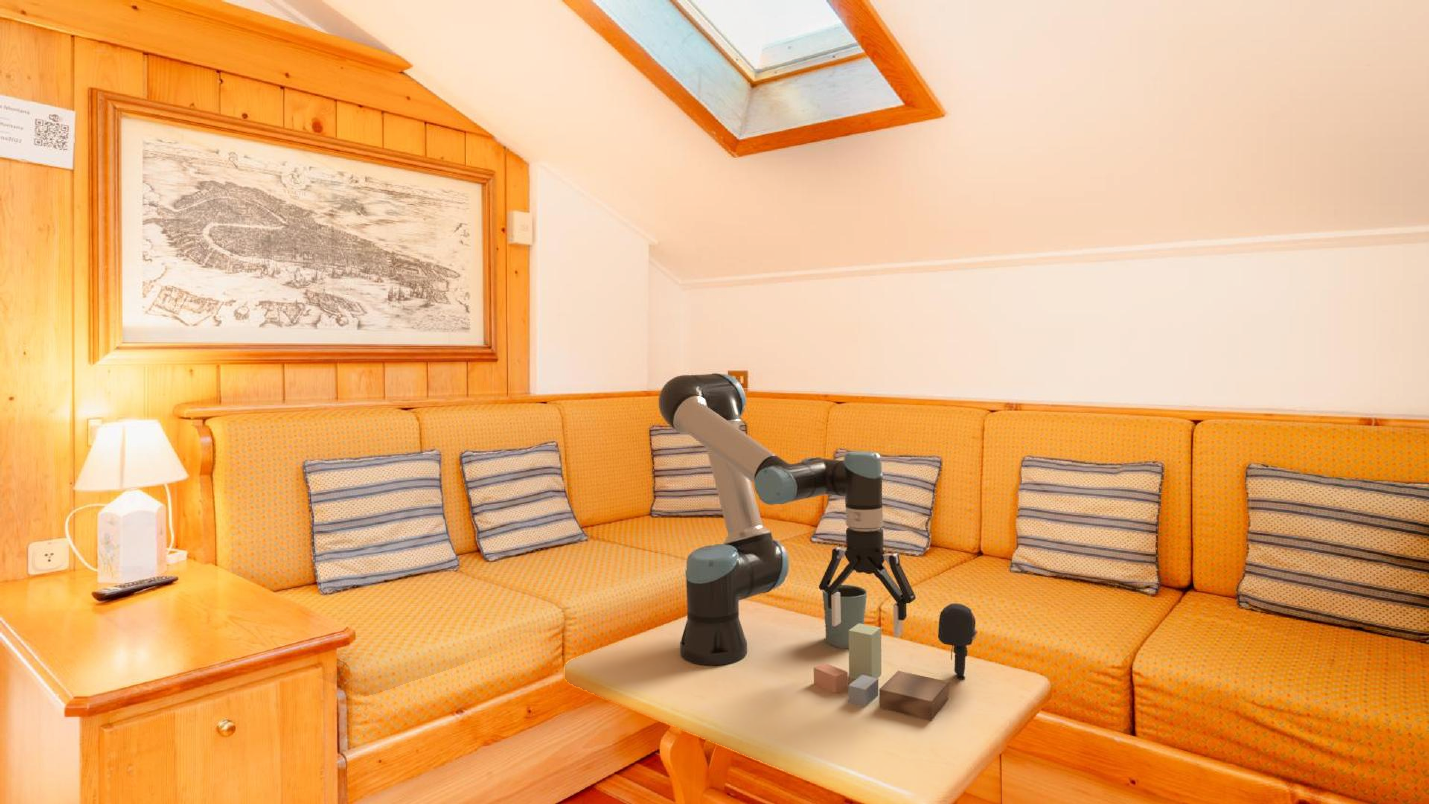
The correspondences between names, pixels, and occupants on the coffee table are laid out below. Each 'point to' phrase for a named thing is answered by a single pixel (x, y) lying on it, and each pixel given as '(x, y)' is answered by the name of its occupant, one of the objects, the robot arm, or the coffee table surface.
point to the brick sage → (864, 651)
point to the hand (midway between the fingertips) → (866, 629)
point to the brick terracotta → (830, 677)
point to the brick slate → (863, 690)
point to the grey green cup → (845, 614)
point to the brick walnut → (913, 695)
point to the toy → (957, 632)
